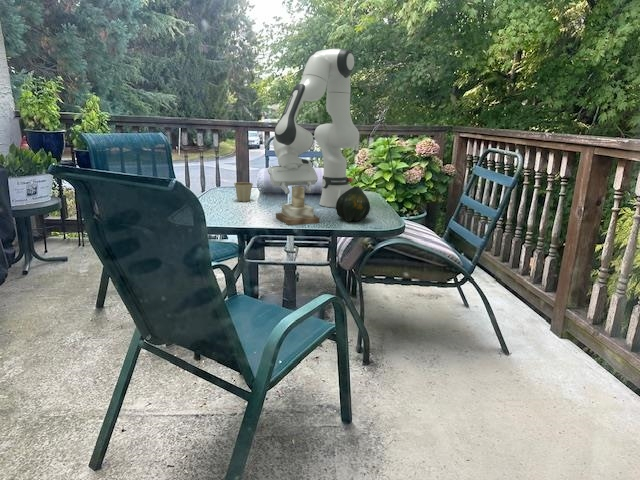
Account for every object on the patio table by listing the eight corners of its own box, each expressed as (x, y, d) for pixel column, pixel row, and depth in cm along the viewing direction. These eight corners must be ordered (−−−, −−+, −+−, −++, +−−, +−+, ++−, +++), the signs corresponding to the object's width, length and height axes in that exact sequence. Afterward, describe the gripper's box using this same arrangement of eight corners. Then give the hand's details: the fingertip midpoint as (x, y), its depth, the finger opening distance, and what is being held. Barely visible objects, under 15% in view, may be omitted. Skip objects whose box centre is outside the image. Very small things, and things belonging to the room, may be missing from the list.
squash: (330, 210, 184) (356, 183, 182) (328, 204, 198) (352, 179, 196) (355, 233, 186) (380, 207, 184) (351, 226, 201) (375, 201, 199)
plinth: (305, 215, 197) (306, 202, 196) (319, 222, 185) (320, 208, 184) (275, 217, 191) (275, 203, 190) (288, 225, 179) (288, 210, 178)
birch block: (300, 205, 189) (300, 186, 187) (304, 206, 186) (304, 187, 184) (291, 205, 187) (291, 186, 185) (295, 207, 184) (295, 188, 182)
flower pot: (257, 200, 227) (257, 183, 225) (244, 203, 220) (244, 185, 217) (243, 198, 232) (242, 181, 230) (230, 200, 224) (229, 183, 222)
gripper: (268, 161, 183) (276, 189, 178) (313, 160, 192) (323, 186, 186) (264, 171, 188) (272, 198, 183) (309, 169, 197) (318, 195, 191)
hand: (298, 192), depth 184 cm, fingers open, 8 cm apart
